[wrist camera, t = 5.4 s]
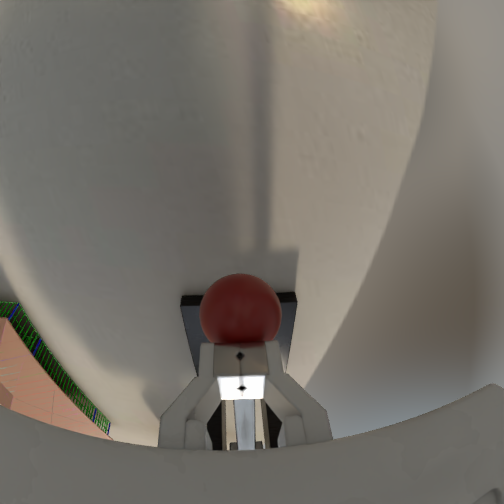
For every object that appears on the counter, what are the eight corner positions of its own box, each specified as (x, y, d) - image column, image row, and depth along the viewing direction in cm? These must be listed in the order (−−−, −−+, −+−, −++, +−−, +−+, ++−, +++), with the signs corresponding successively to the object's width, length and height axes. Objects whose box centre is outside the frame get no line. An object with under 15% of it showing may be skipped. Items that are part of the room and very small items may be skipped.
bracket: (181, 295, 22) (158, 470, 10) (294, 291, 22) (337, 461, 11) (198, 371, 28) (195, 494, 16) (283, 368, 28) (302, 489, 17)
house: (33, 409, 38) (24, 439, 31) (-60, 289, 20) (-84, 325, 13) (122, 430, 39) (116, 468, 32) (20, 297, 21) (-15, 355, 14)
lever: (200, 265, 13) (190, 292, 10) (275, 262, 14) (290, 288, 10) (222, 456, 17) (222, 493, 13) (270, 454, 17) (275, 490, 14)
